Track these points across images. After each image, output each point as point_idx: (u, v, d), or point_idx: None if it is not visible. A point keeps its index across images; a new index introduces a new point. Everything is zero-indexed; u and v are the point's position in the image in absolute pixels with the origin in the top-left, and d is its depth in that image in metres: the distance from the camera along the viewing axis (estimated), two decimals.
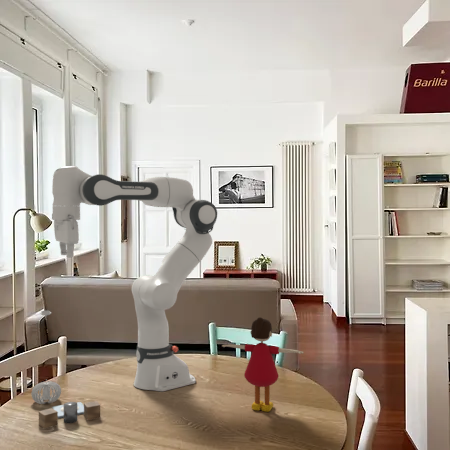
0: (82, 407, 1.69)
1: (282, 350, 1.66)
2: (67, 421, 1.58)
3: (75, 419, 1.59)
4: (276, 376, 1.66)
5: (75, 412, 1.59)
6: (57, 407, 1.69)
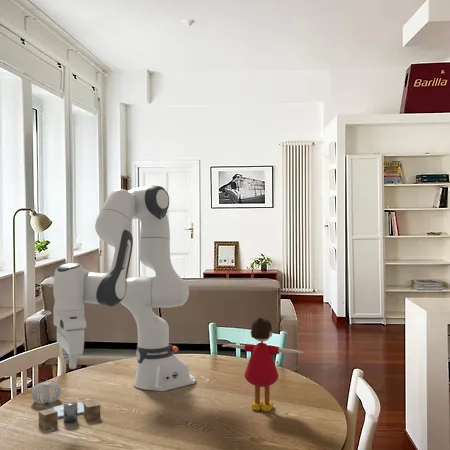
0: (82, 407, 1.69)
1: (282, 350, 1.66)
2: (67, 421, 1.58)
3: (75, 419, 1.59)
4: (276, 376, 1.66)
5: (75, 412, 1.59)
6: (57, 407, 1.69)
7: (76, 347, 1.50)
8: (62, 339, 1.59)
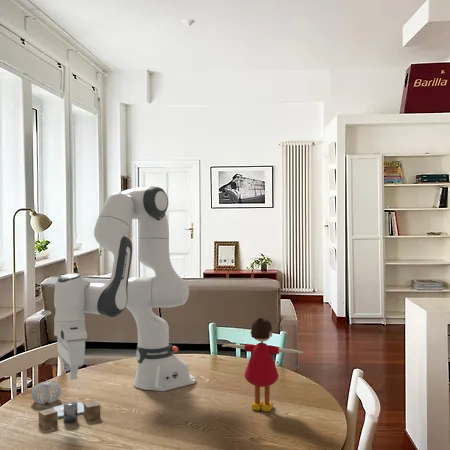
0: (82, 407, 1.69)
1: (282, 350, 1.66)
2: (67, 421, 1.58)
3: (75, 419, 1.59)
4: (276, 376, 1.66)
5: (75, 412, 1.59)
6: (57, 407, 1.69)
7: (77, 358, 1.51)
8: (63, 349, 1.59)
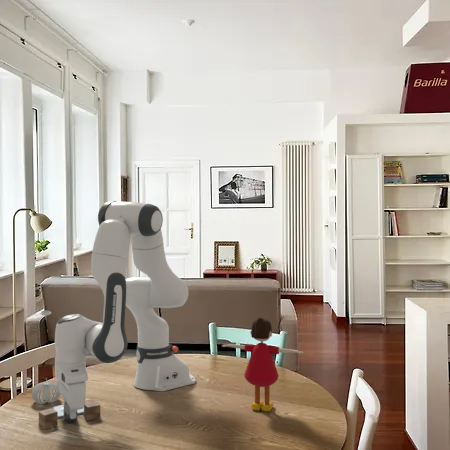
0: None
1: (282, 350, 1.66)
2: (67, 421, 1.58)
3: (75, 419, 1.59)
4: (276, 376, 1.66)
5: None
6: (57, 407, 1.69)
7: (77, 401, 1.51)
8: (63, 390, 1.60)
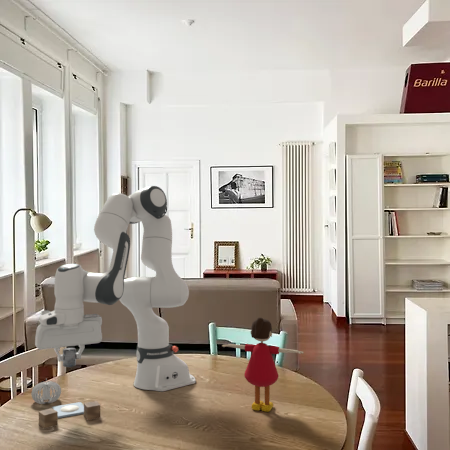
0: (82, 407, 1.69)
1: (282, 350, 1.66)
2: None
3: (64, 364, 1.66)
4: (276, 376, 1.66)
5: (64, 357, 1.66)
6: (57, 407, 1.69)
7: (36, 340, 1.63)
8: None
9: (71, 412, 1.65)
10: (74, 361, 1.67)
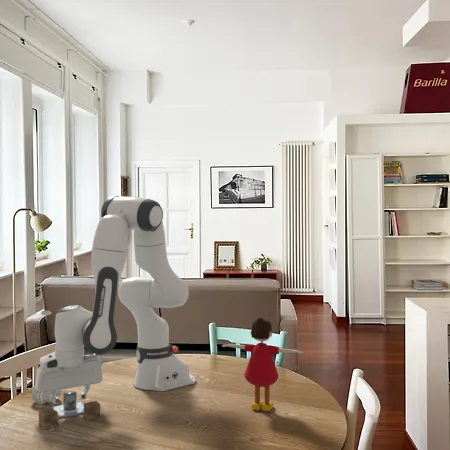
0: (82, 407, 1.69)
1: (282, 350, 1.66)
2: None
3: (65, 408, 1.66)
4: (276, 376, 1.66)
5: (65, 401, 1.66)
6: (57, 407, 1.69)
7: (36, 382, 1.63)
8: None
9: (71, 412, 1.65)
10: (75, 405, 1.67)
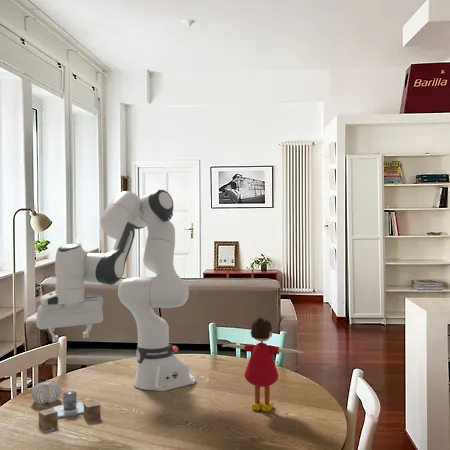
0: (82, 407, 1.69)
1: (282, 350, 1.66)
2: None
3: (65, 408, 1.66)
4: (276, 376, 1.66)
5: (65, 401, 1.66)
6: (57, 407, 1.69)
7: (37, 320, 1.63)
8: None
9: (71, 412, 1.65)
10: (75, 405, 1.67)
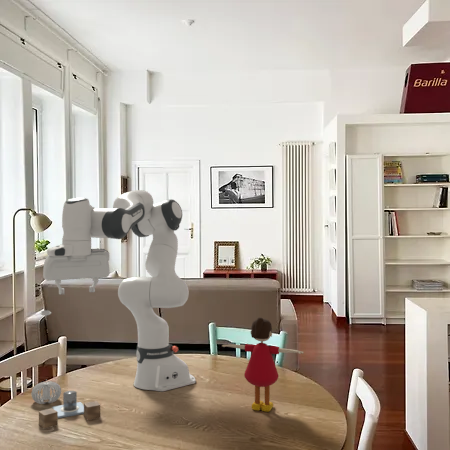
0: (82, 407, 1.69)
1: (282, 350, 1.66)
2: None
3: (65, 408, 1.66)
4: (276, 376, 1.66)
5: (65, 401, 1.66)
6: (57, 407, 1.69)
7: (44, 271, 1.63)
8: None
9: (71, 412, 1.65)
10: (75, 405, 1.67)
